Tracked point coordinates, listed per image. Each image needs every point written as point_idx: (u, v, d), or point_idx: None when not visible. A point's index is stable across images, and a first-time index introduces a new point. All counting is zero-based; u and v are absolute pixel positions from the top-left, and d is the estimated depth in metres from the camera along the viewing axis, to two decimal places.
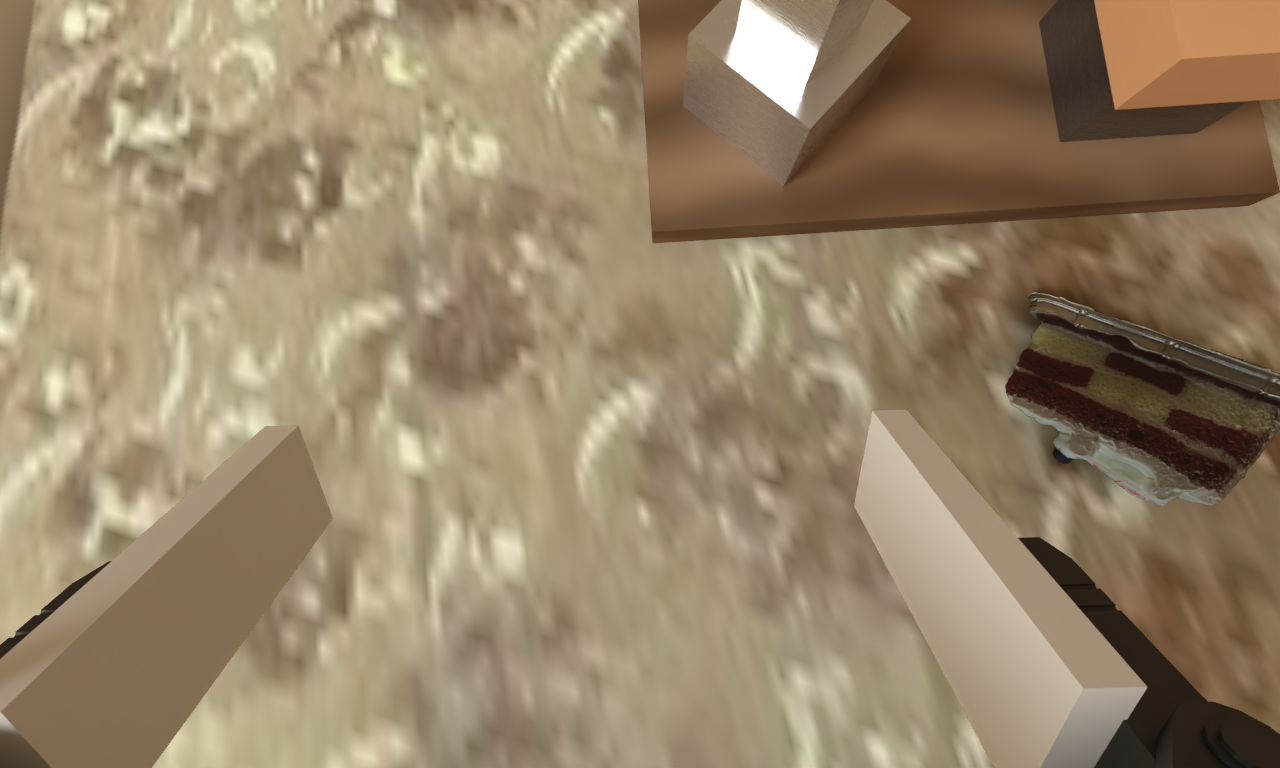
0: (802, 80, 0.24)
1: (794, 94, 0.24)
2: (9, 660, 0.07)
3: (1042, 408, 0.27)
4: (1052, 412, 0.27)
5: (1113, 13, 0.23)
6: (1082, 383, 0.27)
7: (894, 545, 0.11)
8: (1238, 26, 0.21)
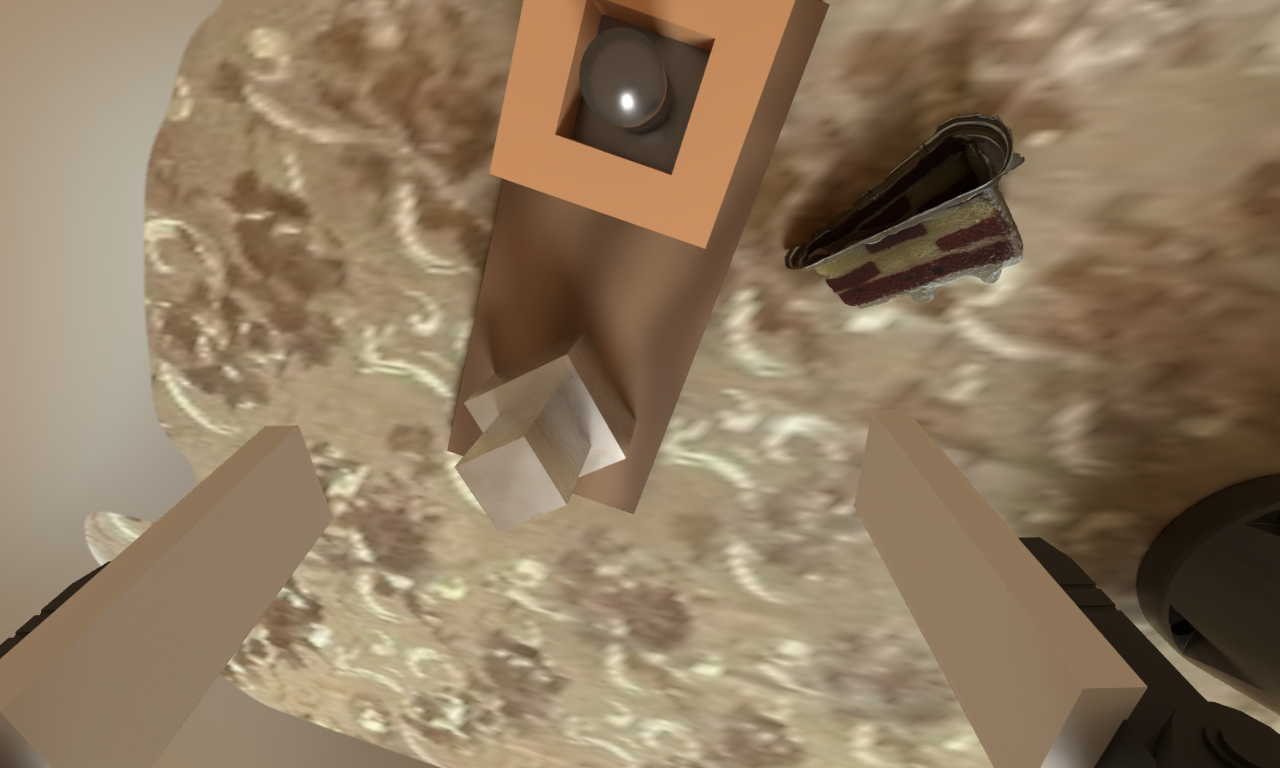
0: (587, 447, 0.32)
1: (595, 456, 0.32)
2: (9, 660, 0.07)
3: (877, 300, 0.32)
4: (885, 297, 0.32)
5: None
6: (876, 272, 0.31)
7: (894, 545, 0.11)
8: (698, 186, 0.23)
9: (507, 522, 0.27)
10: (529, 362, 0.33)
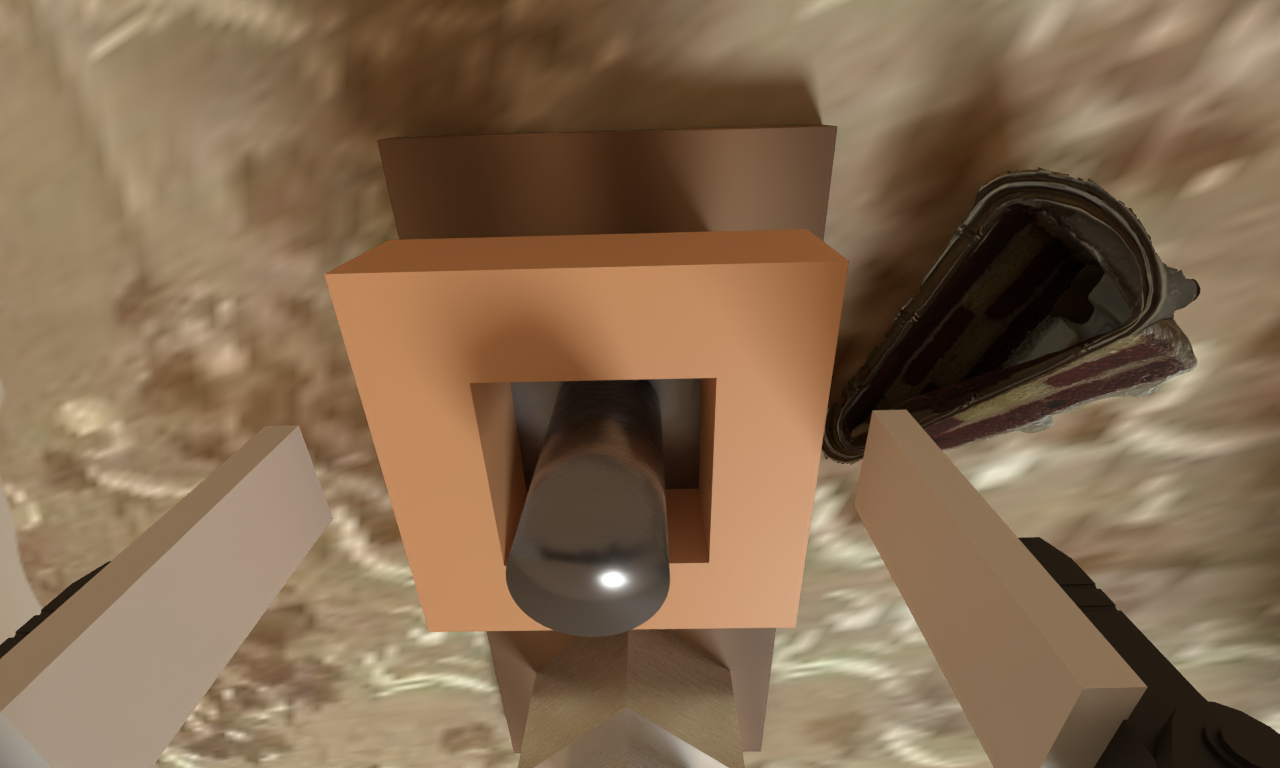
0: None
1: None
2: (9, 660, 0.07)
3: (967, 443, 0.22)
4: (978, 439, 0.22)
5: None
6: (957, 422, 0.21)
7: (894, 545, 0.11)
8: (757, 564, 0.14)
9: None
10: (576, 679, 0.25)
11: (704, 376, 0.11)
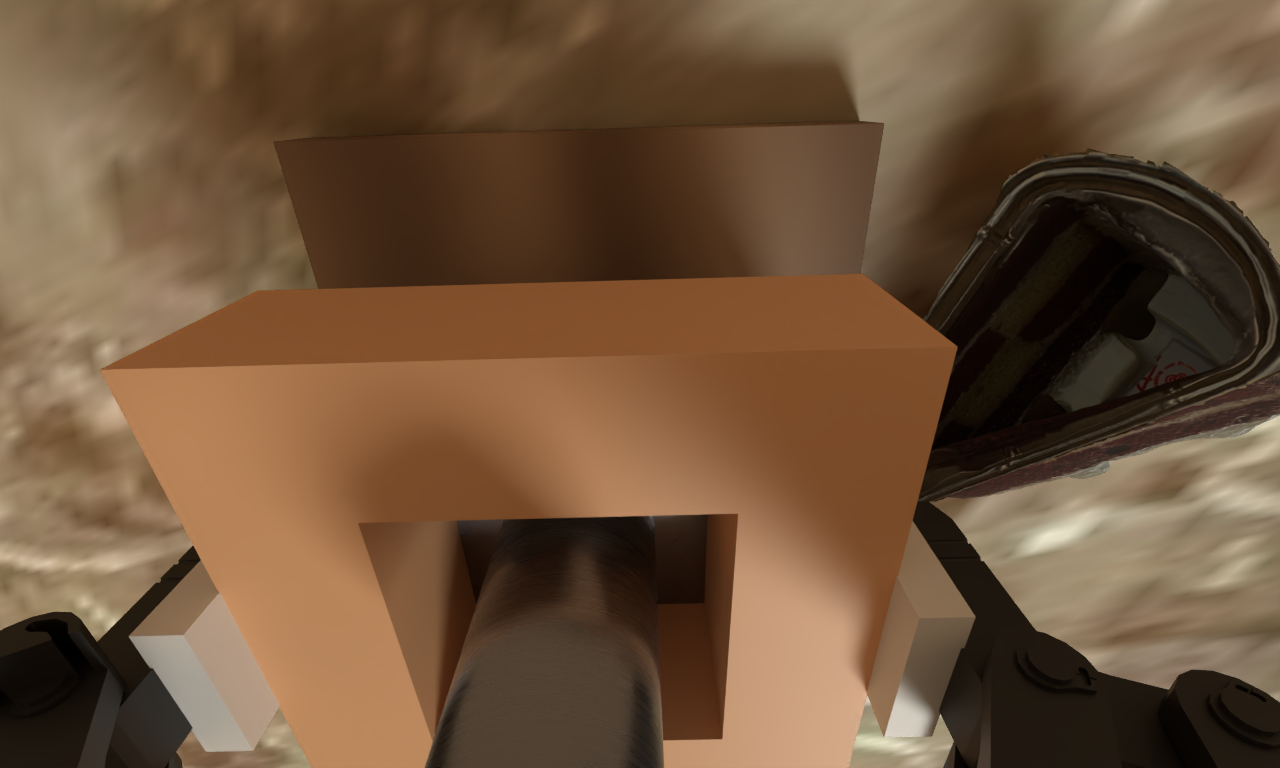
0: None
1: None
2: (176, 595, 0.08)
3: (1001, 491, 0.18)
4: (1015, 488, 0.18)
5: None
6: None
7: None
8: (790, 740, 0.10)
9: None
10: None
11: (719, 511, 0.07)
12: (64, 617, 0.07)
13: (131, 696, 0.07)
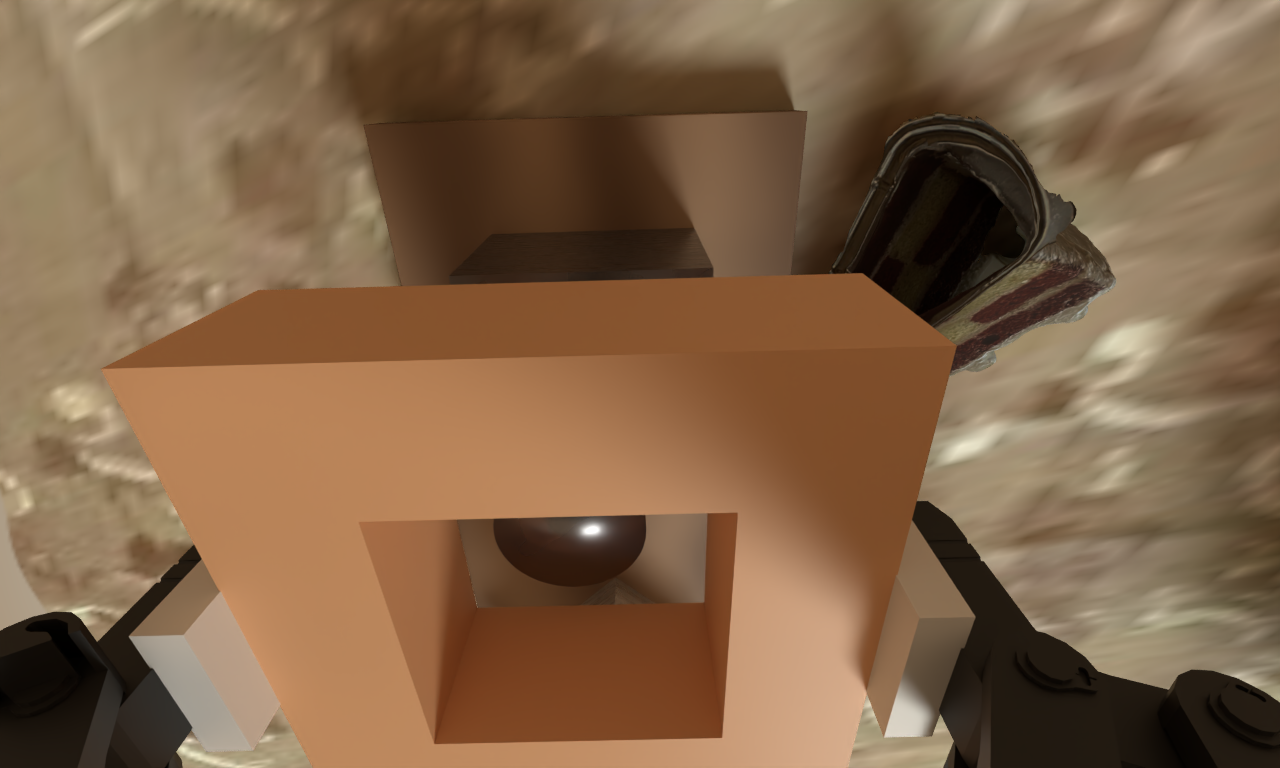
0: None
1: None
2: (176, 595, 0.08)
3: None
4: None
5: None
6: None
7: None
8: (790, 738, 0.10)
9: None
10: None
11: (719, 510, 0.07)
12: (64, 617, 0.07)
13: (131, 696, 0.07)
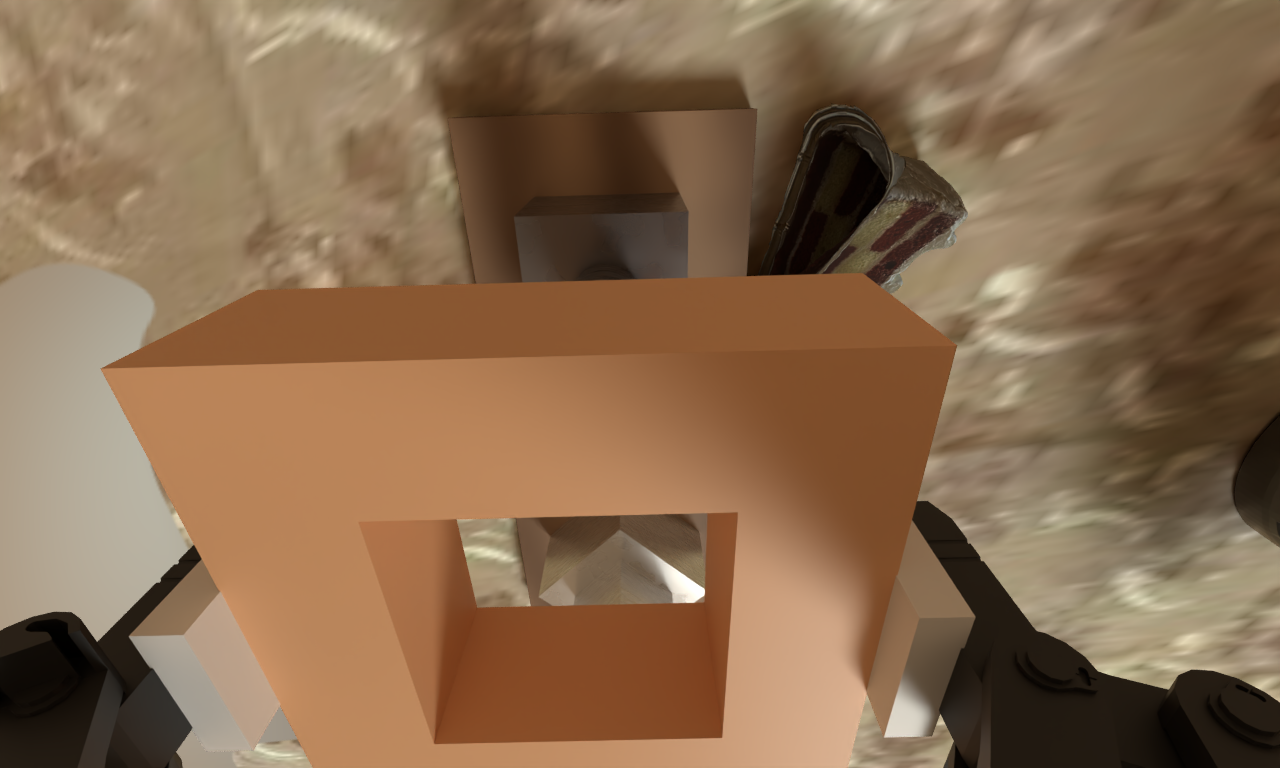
0: (668, 594, 0.32)
1: (679, 599, 0.32)
2: (176, 595, 0.08)
3: None
4: None
5: None
6: None
7: None
8: (790, 739, 0.10)
9: None
10: (582, 528, 0.33)
11: (719, 510, 0.07)
12: (65, 617, 0.07)
13: (132, 696, 0.07)
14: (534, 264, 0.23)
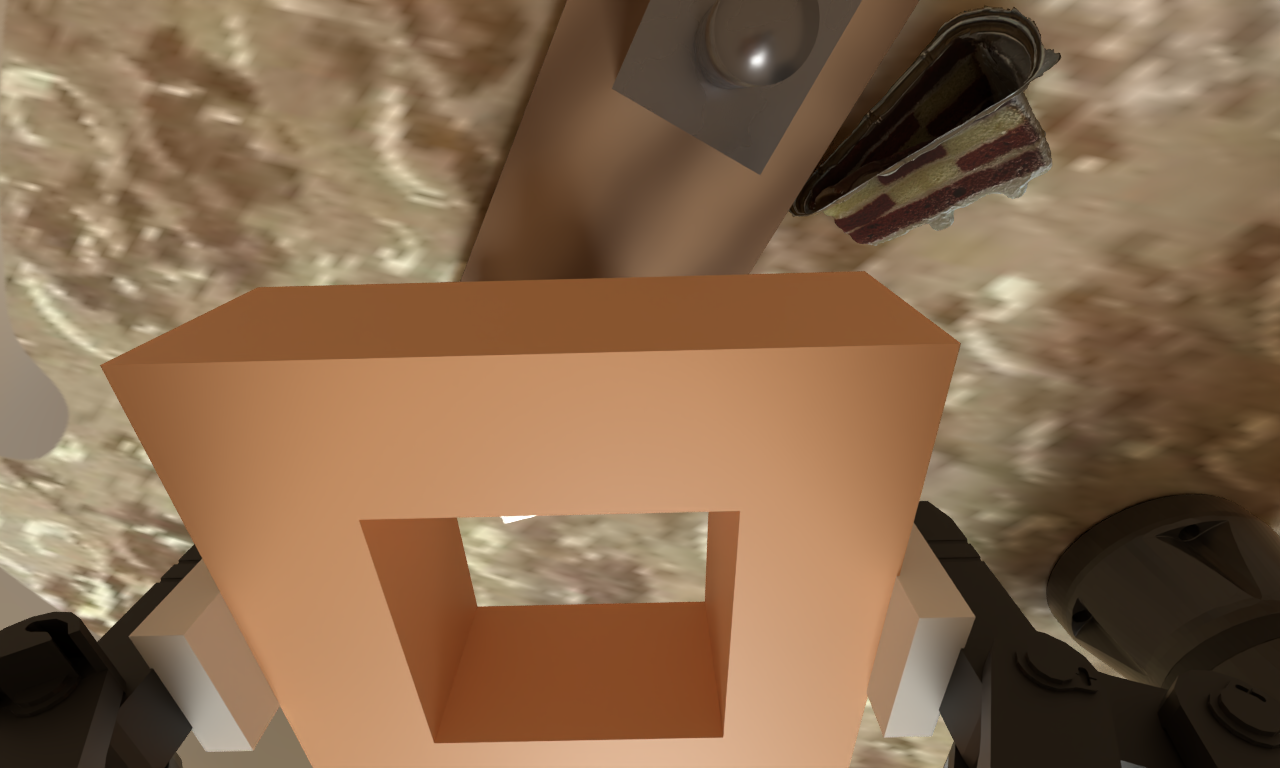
0: None
1: None
2: (176, 595, 0.08)
3: (893, 234, 0.30)
4: (901, 230, 0.29)
5: None
6: (891, 204, 0.28)
7: None
8: (791, 738, 0.10)
9: None
10: None
11: (721, 509, 0.07)
12: (64, 617, 0.07)
13: (131, 696, 0.07)
14: None
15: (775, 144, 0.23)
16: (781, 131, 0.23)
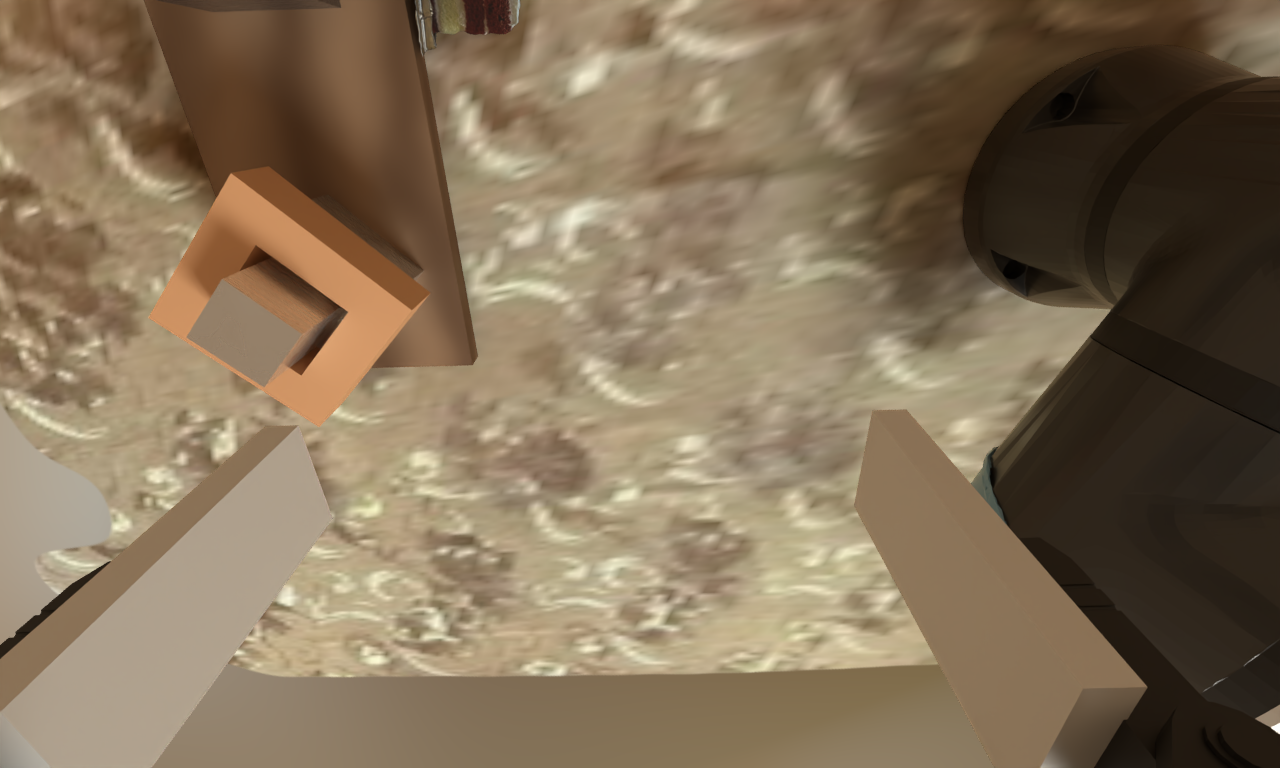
0: None
1: None
2: (9, 660, 0.07)
3: (510, 0, 0.30)
4: None
5: (389, 343, 0.33)
6: None
7: (894, 545, 0.11)
8: (361, 296, 0.29)
9: (264, 374, 0.28)
10: None
11: (252, 248, 0.28)
12: None
13: None
14: None
15: None
16: None
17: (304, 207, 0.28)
